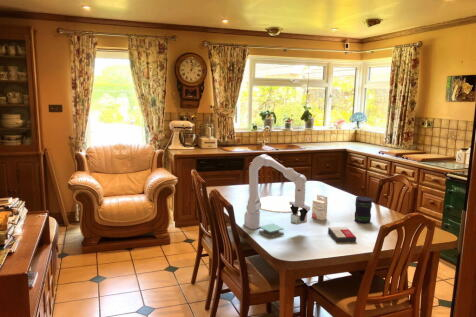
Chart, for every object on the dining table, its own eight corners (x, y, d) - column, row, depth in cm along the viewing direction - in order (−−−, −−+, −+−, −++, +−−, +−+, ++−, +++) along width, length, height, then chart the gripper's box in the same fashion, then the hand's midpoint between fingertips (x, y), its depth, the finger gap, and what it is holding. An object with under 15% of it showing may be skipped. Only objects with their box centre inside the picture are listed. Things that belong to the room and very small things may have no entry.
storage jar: (369, 219, 249) (371, 197, 246) (371, 224, 239) (373, 201, 237) (353, 218, 251) (355, 196, 248) (354, 223, 241) (356, 199, 239)
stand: (259, 232, 222) (259, 226, 222) (272, 229, 228) (272, 223, 227) (269, 237, 214) (270, 231, 214) (283, 234, 220) (283, 228, 219)
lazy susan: (246, 209, 268) (246, 204, 267) (259, 195, 305) (259, 191, 304) (303, 215, 256) (304, 210, 256) (310, 200, 293) (311, 196, 293)
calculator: (336, 236, 208) (328, 226, 223) (336, 244, 209) (327, 233, 223) (356, 236, 209) (346, 225, 224) (356, 243, 210) (346, 232, 224)
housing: (289, 222, 219) (289, 214, 219) (301, 219, 225) (302, 211, 224) (295, 225, 215) (295, 216, 215) (308, 222, 221) (308, 213, 220)
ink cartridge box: (311, 217, 251) (312, 195, 249) (315, 215, 255) (316, 194, 252) (322, 220, 245) (323, 198, 243) (326, 218, 249) (328, 196, 246)
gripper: (285, 194, 221) (284, 217, 223) (304, 200, 210) (303, 224, 212) (294, 193, 225) (293, 215, 228) (313, 198, 214) (312, 222, 216)
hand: (298, 219), depth 220 cm, fingers closed on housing, 5 cm apart
